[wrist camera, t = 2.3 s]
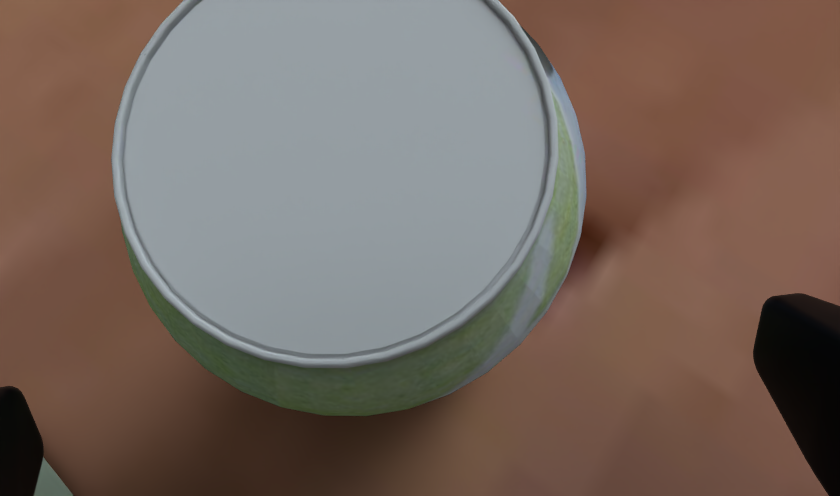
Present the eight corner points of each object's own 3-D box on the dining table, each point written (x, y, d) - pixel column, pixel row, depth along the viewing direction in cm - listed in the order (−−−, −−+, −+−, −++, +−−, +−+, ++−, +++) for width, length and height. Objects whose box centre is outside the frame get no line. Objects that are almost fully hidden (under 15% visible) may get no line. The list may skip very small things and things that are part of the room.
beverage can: (542, 244, 19) (762, -71, 8) (430, 488, 17) (513, 533, 6) (348, 152, 20) (294, -263, 9) (216, 377, 18) (-86, 221, 6)
